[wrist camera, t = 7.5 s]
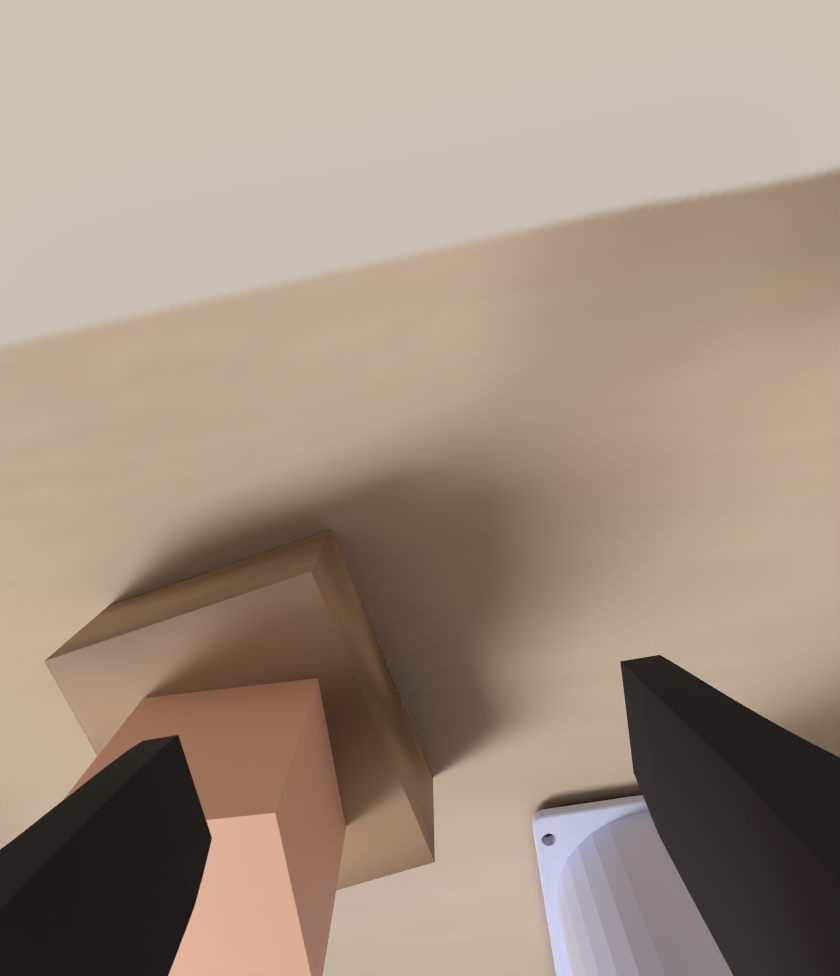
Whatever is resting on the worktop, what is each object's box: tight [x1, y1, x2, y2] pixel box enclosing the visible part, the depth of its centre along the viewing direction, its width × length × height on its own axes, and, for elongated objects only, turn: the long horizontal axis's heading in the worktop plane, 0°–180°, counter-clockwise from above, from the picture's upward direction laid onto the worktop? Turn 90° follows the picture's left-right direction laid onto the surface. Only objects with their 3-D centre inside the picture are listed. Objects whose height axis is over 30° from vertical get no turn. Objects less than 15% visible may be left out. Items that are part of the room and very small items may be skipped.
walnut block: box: [45, 530, 435, 890], centre depth 20 cm, size 10×8×4 cm
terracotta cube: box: [65, 678, 346, 976], centre depth 15 cm, size 5×5×5 cm
